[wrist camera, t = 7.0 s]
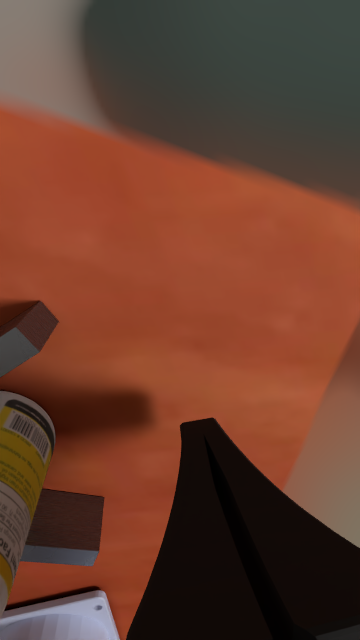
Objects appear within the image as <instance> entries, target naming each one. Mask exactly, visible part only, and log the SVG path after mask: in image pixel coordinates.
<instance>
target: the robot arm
mask: <svg viewBox="0 0 360 640" xmlns="http://www.w3.org/2000/svg"><path fill="white" fill-rule="evenodd" d="M180 431H181V441H182V444H181V458H180V467H179V474H178V480H177V485H176V491H175V496H174V500H173V505H172V509H171V513H170V517H169V521H168V524H167V528H166V531H165V535H164V538H163V541H162V545H161V548H160V551H159V554H158V557H157V560H156V562H155V565H154V568H153V571H152V573H151V576H150V579H149V582H148V585H147V587H146V590H145V592H144V595H143V597H142V600H141V602H140V605H139V607H138V609H137V612H136V614H135V617H134V619H133V621H132V624H131V626H130V629H129V631H128V634H127V638H126V640H360V548H359V547H357V546H355V545H353V544H352V543H351V542H349V541H348V540H346V539H345V538H343V537H341V536H340V535H339V534H337V533H336V532H334V531H333V530H331V529H330V528H328V527H327V526H326V525H324V524H323V523H322V522H320V521H319V520H318V519H316V518H315V517H313V516H312V515H311V514H309V513H308V512H307V511H305V510H304V509H303V508H301V507H300V506H299V505H298V504H296V503H295V502H294V501H293V500H291V499H290V498H289V497H288V496H287V495H286V494H284V493H283V492H282V491H281V490H280V489H279V488H277V487H276V486H275V485H274V484H273V483H272V482H271V481H270V480H269V479H268V478H266V477H265V476H264V475H263V474H262V473H261V472H260V471H259V470H258V469H257V468H256V467H255V466H254V465H253V464H252V463H251V462H250V460H249V459H248V458H247V457H246V456H245V455H244V454H243V453H242V452H241V451H240V450H239V448H238V447H237V446H236V445H235V444H234V443H233V441H232V440H231V439H230V438H229V437H228V435H227V434H226V433H225V432H224V430H223V429H222V428H221V426H220V425H219V424H218V422H217V421H216V419H214V418H207V419H202V420H196V421H190V422H184V423H182V424H181V425H180ZM0 640H120V638H119V635H118V632H117V629H116V626H115V622H114V619H113V616H112V613H111V610H110V606H109V603H108V600H107V597H106V594H105V592H104V591H102V590H96V591H91V592H87V593H82V594H78V595H74V596H69V597H65V598H60V599H56V600H52V601H47V602H43V603H38V604H34V605H29V606H25V607H21V608H16V609H12V610H7V611H4V612H3V615H2V617H1V620H0Z"/></svg>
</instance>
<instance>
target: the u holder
mask: <svg viewBox="0 0 360 640" xmlns="http://www.w3.org/2000/svg"><path fill="white" fill-rule="evenodd" d="M58 322H59V321H58V320H57V319H56V317H55V316H54V315H53V314H52V313H51V312H50V311H49V310H48V308H47V307H46V306H45V305H44V304H43V303H42V302H41V301H39V302H38V303H36V304H35V305H33V306H32V307H30V308H29V309H27V310H26V311H24V312H23V313H21V314H20V315H18V316H17V317H15V318H14V319H12V320H11V321H9V322H8V323H6V324H4V325H3V326H1V327H0V377H2V376H3V375H5V374H6V373H8V372H9V371H11V370H12V369H14V368H16V367H17V366H19V365H20V364H22V363H23V362H25V361H26V360H28V359H30V358H31V357H33V356H34V355H36V354H37V353H39V352H40V351H41V349H42V348H43V346H44V344H45V343H46V341H47V340H48V338H49V336H50V335H51V333H52V332H53V330H54V329H55V327H56V325H57V324H58ZM103 506H104V497H98V496H90V495H83V494H76V493H68V492H61V491H53V490H46V489H42V490H41V493H40V496H39V500H38V503H37V506H36V510H35V513H34V516H33V520H32V523H31V526H30V529H29V532H28V536H27V539H26V542H25V546H24V549H23V552H22V556H21V559H20V561H27V562H41V563H55V564H70V565H84V566H93V564H94V562H95V559H96V557H97V555H98V553H99V547H100V537H101V527H102V516H103Z"/></svg>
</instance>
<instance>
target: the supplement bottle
mask: <svg viewBox="0 0 360 640" xmlns="http://www.w3.org/2000/svg"><path fill="white" fill-rule="evenodd" d="M54 446H55V430H54V426H53V423H52V421H51V419H50V417H49V416H48V414H47V413H46V412H45V411H44V410H43V409H42V408H41V407H40V406H39V405H38V404H37V403H35V402H34V401H32V400H30V399H28V398H26V397H24V396H21V395H19V394H15V393H12V392H7V391H0V620H1V617H2V615H3V612H4V610H5V607H6V605H7V602H8V598H9V595H10V592H11V588H12V586H13V582H14V578H15V575H16V572H17V569H18V565H19V562H20V559H21V556H22V552H23V549H24V546H25V542H26V539H27V536H28V532H29V529H30V526H31V523H32V520H33V516H34V513H35V510H36V506H37V503H38V500H39V496H40V493H41V490H42V486H43V483H44V480H45V476H46V473H47V470H48V467H49V463H50V460H51V457H52V454H53V450H54Z"/></svg>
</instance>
